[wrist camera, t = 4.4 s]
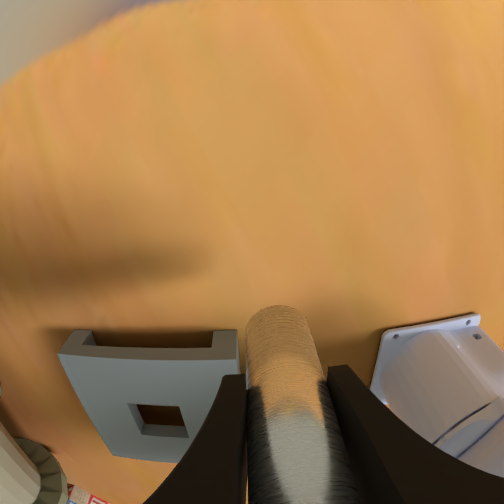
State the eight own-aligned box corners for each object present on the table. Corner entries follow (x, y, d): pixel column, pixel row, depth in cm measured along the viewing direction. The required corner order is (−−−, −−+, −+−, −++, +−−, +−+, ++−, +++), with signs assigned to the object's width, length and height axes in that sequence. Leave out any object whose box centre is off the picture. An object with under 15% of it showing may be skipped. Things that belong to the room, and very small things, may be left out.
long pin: (309, 303, 12) (383, 523, 4) (307, 354, 13) (355, 551, 5) (243, 307, 12) (245, 545, 4) (247, 358, 13) (252, 565, 5)
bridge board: (237, 329, 20) (236, 359, 17) (247, 437, 24) (248, 464, 21) (74, 329, 20) (56, 353, 17) (120, 431, 24) (112, 455, 21)
